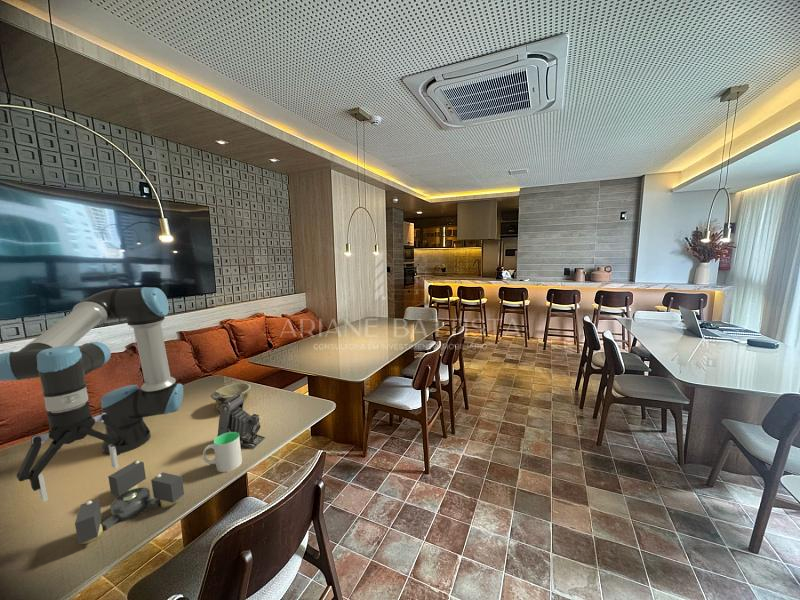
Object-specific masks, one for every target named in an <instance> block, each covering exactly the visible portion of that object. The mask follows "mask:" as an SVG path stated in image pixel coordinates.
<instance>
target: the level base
mask: <svg viewBox="0 0 800 600" xmlns="http://www.w3.org/2000/svg"><path fill="white" fill-rule="evenodd" d="M160 505H161V502H160V499H157V498H152V497H151V491H150V489H149V488H148V487H139V488H136V489H133V490H130V491H127V492H125V493H123V494H122V495H120V496H117V497H116V498H115V499H113V501H112V502H111V503H110V507H109V508H110V512H111V516H110V517H108V518H107V519H105V520H104V521H101V523H100V524H102V529H104V530H106V531H107V530H108V529H110V528H111V527H112V526H114V525H115V524H117V523H119V522H124V521H127V520H131V519H133V518H135V517H137V516H139V515H140V514H142V513H143V512H145V511H146V510H147V509H151V508H152V509H153V508H158V507H159V506H160Z"/></svg>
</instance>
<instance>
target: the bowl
mask: <svg viewBox="0 0 800 600" xmlns="http://www.w3.org/2000/svg"><path fill="white" fill-rule="evenodd" d="M251 387H252V386H251V385H250V384H249V383H247V382H236V383H231V384H228V385H225V386H223V387H220V388H218V389H217V390H215V391H214V392H213V393H211V395H210V398H211V399H212V400H214V401H215V409H216V410H217V411H219V412H220V409H221V405H222V404H223V403H224V401H226V400H228V399H229V398H230V397H232V396H233V395H235V394H237V393H238V392H241V393H242V394H241V395H243V397H244V402H245V401H246V400H247V399H248V397H249V392H250V391H251Z"/></svg>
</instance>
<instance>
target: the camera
mask: <svg viewBox="0 0 800 600" xmlns="http://www.w3.org/2000/svg"><path fill="white" fill-rule="evenodd" d="M241 394H242V393H241V392H238V393H237V394H235V395H233V396H232V397H230V398H229V399H228V400H226V401H224V403H223V404H220V408H221V409H220V411H219V418H218V426H217V427H218V428H217V435H216V438H217V437H218V436H220V435H222V434H224V433H228V432H237V433H239V438H240V446H243V447H247V448H250V449H256V448H257V447H258V445H259V444H261V443H262V441H264V439H266V436H263V435H260V434H258V433H259V431H260V429H261V422H260V414H258V413H253V414H249V412H247V411H246V410H244V402H245V401H244V397H243V395H241Z"/></svg>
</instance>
